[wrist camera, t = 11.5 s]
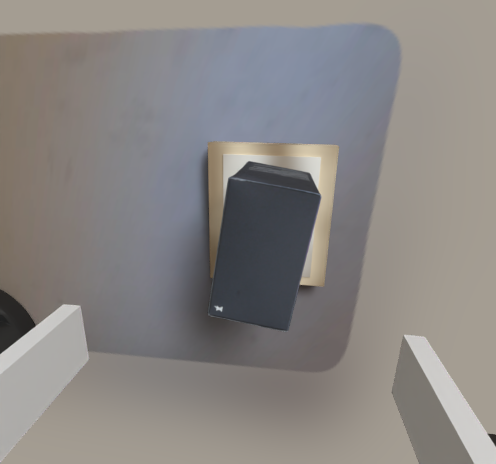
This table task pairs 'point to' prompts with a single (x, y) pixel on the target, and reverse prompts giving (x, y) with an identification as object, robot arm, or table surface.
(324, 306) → the table surface
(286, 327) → the small box
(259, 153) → the beech picture frame
